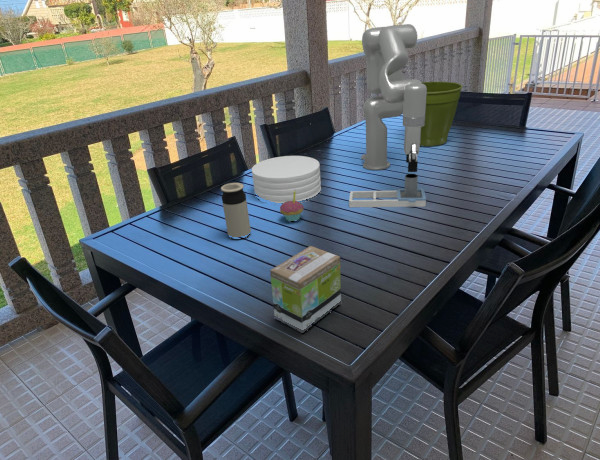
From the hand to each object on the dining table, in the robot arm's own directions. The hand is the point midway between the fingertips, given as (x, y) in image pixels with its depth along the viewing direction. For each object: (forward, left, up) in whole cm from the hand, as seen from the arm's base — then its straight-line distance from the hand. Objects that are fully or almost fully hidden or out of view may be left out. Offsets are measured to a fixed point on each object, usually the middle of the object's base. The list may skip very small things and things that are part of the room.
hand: (411, 167), depth 163 cm
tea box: (+23, -73, -14) cm, 78 cm away
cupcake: (-22, -40, -14) cm, 48 cm away
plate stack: (-45, -23, -14) cm, 53 cm away
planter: (0, 0, -14) cm, 14 cm away
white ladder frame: (-6, -6, -14) cm, 16 cm away
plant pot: (-39, +70, -14) cm, 81 cm away
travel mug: (-27, -60, -14) cm, 67 cm away
